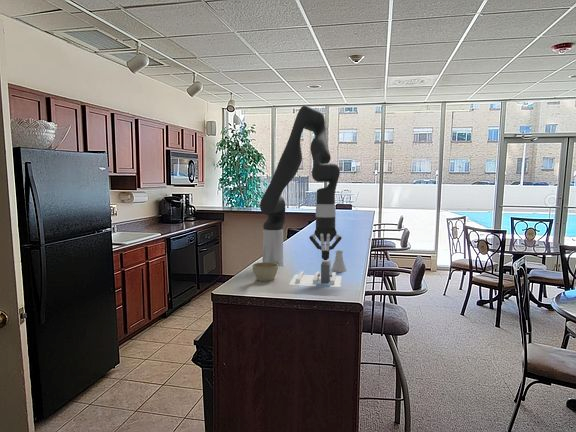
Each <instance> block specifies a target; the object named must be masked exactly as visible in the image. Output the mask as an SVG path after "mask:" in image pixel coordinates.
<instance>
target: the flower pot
mask: <svg viewBox="0 0 576 432" xmlns="http://www.w3.org/2000/svg"><path fill="white" fill-rule="evenodd" d="M278 267H279V266H278V264H276V263H270V262H263V261H261V262H255V263H253V264H252V271H253V274H254V277H255V279H256V280H257V281H259V282H271V281H274V279H276V278H275V277H276V275H277V272H278Z"/></svg>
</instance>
